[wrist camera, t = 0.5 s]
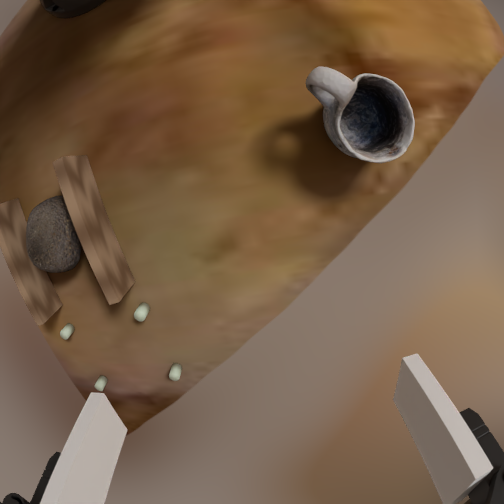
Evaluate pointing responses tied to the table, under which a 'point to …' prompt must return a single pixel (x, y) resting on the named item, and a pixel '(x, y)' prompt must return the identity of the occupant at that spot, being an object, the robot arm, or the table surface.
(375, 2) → the table surface
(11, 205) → the channel
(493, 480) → the robot arm
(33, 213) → the stone
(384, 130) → the mug
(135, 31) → the table surface
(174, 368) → the zone posts
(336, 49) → the table surface
